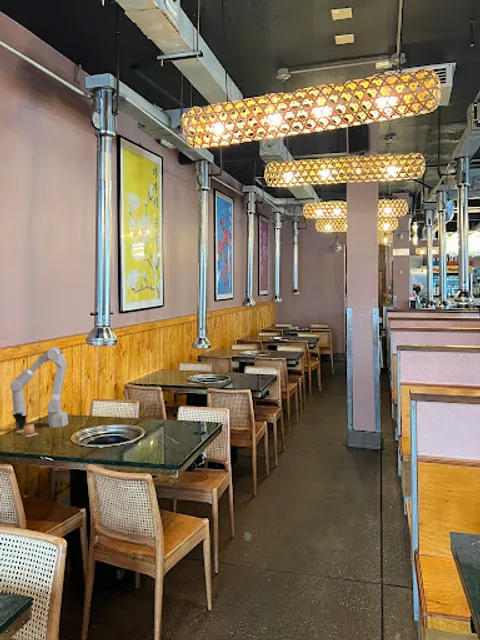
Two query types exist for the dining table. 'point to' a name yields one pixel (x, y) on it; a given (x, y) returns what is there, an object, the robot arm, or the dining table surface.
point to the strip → (22, 429)
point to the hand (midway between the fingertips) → (21, 427)
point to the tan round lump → (29, 429)
